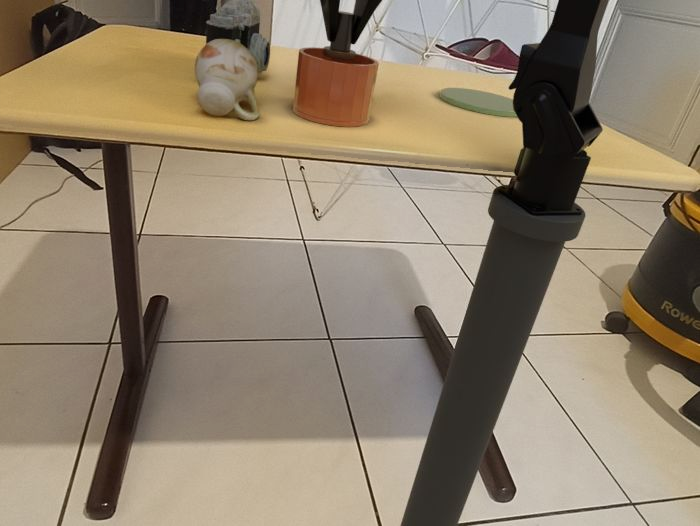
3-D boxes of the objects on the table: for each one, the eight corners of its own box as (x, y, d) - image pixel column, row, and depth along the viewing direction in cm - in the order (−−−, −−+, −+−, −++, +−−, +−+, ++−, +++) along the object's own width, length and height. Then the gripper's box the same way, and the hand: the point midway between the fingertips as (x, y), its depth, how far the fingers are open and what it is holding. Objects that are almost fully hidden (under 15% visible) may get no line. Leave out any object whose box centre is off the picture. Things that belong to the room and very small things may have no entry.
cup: (380, 128, 67) (391, 68, 64) (305, 124, 64) (312, 60, 60) (352, 106, 75) (361, 52, 71) (284, 102, 71) (290, 44, 68)
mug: (180, 119, 59) (172, 23, 59) (210, 137, 68) (204, 55, 68) (249, 112, 58) (242, 16, 58) (270, 132, 68) (264, 49, 68)
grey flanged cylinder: (359, 61, 65) (366, 17, 63) (328, 58, 64) (334, 13, 61) (348, 55, 68) (354, 12, 66) (318, 52, 67) (324, 8, 64)
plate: (544, 119, 87) (545, 114, 86) (467, 114, 82) (469, 108, 81) (494, 95, 98) (495, 91, 98) (424, 89, 93) (425, 84, 92)
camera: (250, 91, 73) (256, 9, 68) (200, 82, 73) (202, -1, 68) (274, 72, 86) (280, 2, 81) (231, 65, 86) (234, -7, 81)
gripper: (409, -99, 67) (386, 38, 75) (256, -133, 60) (247, 22, 68) (455, -100, 59) (423, 55, 66) (282, -140, 52) (268, 38, 59)
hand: (341, 42), depth 65 cm, fingers closed on grey flanged cylinder, 2 cm apart
